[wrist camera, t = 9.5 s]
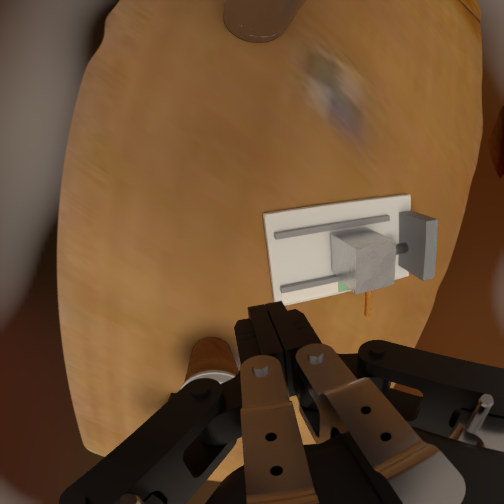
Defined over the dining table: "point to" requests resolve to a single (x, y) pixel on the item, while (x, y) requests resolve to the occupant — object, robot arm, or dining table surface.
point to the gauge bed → (319, 243)
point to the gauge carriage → (365, 260)
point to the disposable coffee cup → (211, 361)
